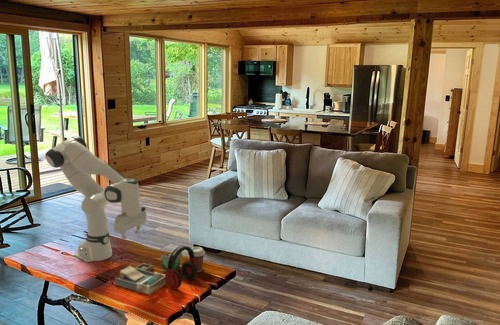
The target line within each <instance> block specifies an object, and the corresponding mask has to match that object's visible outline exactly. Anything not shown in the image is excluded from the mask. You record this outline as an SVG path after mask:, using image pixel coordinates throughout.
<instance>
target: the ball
mask: <svg viewBox="0 0 500 325" xmlns="http://www.w3.org/2000/svg"><path fill="white" fill-rule="evenodd" d="M156 281H158V280H157V278H156V277H154V276H152V277H150V278H149V279H148V285H149V286H150V285H152V284H153V283H155V282H156Z"/></svg>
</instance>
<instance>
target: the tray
mask: <svg viewBox="0 0 500 325" xmlns="http://www.w3.org/2000/svg"><path fill="white" fill-rule="evenodd" d="M153 273H154V277H156V278H157V280H158V281H156V282H155V283H153V284H152V285H150V286H149V285H148V283H147V284H146V285H144V284H140V283H137V291H136V292H139V293H143V294H144V295H145V294H146V295H149V296H150V295H152V294H153V293H155V292H156V291H157V290H159V289H160V288H162V287H163V286H165V285H167V283H166V280H165V275H166V274H165V273H164V274H163V273H161V272H157V271H153Z"/></svg>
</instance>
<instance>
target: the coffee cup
mask: <svg viewBox="0 0 500 325" xmlns="http://www.w3.org/2000/svg"><path fill="white" fill-rule="evenodd" d="M190 248H191V249H192V250H193V252H194V258H195V265H196V267H197V273H201V272H202V271H203V269H204V268H203V267H204V266H203V263H204V255H205V254H206V251H205V250H204V249H203V247H200V246H193V247H190Z"/></svg>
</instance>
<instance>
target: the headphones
mask: <svg viewBox="0 0 500 325" xmlns="http://www.w3.org/2000/svg"><path fill="white" fill-rule="evenodd" d="M191 248H192V247H190V246H187V245H179V246H177V247H176V248H175V249H174V250H173V251H172V252H171V253H172V254H171V256H170V258H169V261H168V268H167V272H166V273H165V274H164V275H165V280H166V285H167V286H168V287H170V289H172V290H177V289H179V288H180V287H181V285H182V276H181V274H180V272H179V271H178V272H177V271H176V270H174V269H173V267H174V263H175V260H176V258H177V257H178V255H179V254H180V253H181V252H183V251H187V255H188V258H189V259H188V260H186V261H185V262H183V263H182V265H181V272H182V275H183V276H184V277H185V278H186V279H187V280H189V281H190V280H192V281H193V280H194V279H196V278H197V277H198V272H197V267H196V265H195V258H194V252H193V250H192V249H191Z"/></svg>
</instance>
